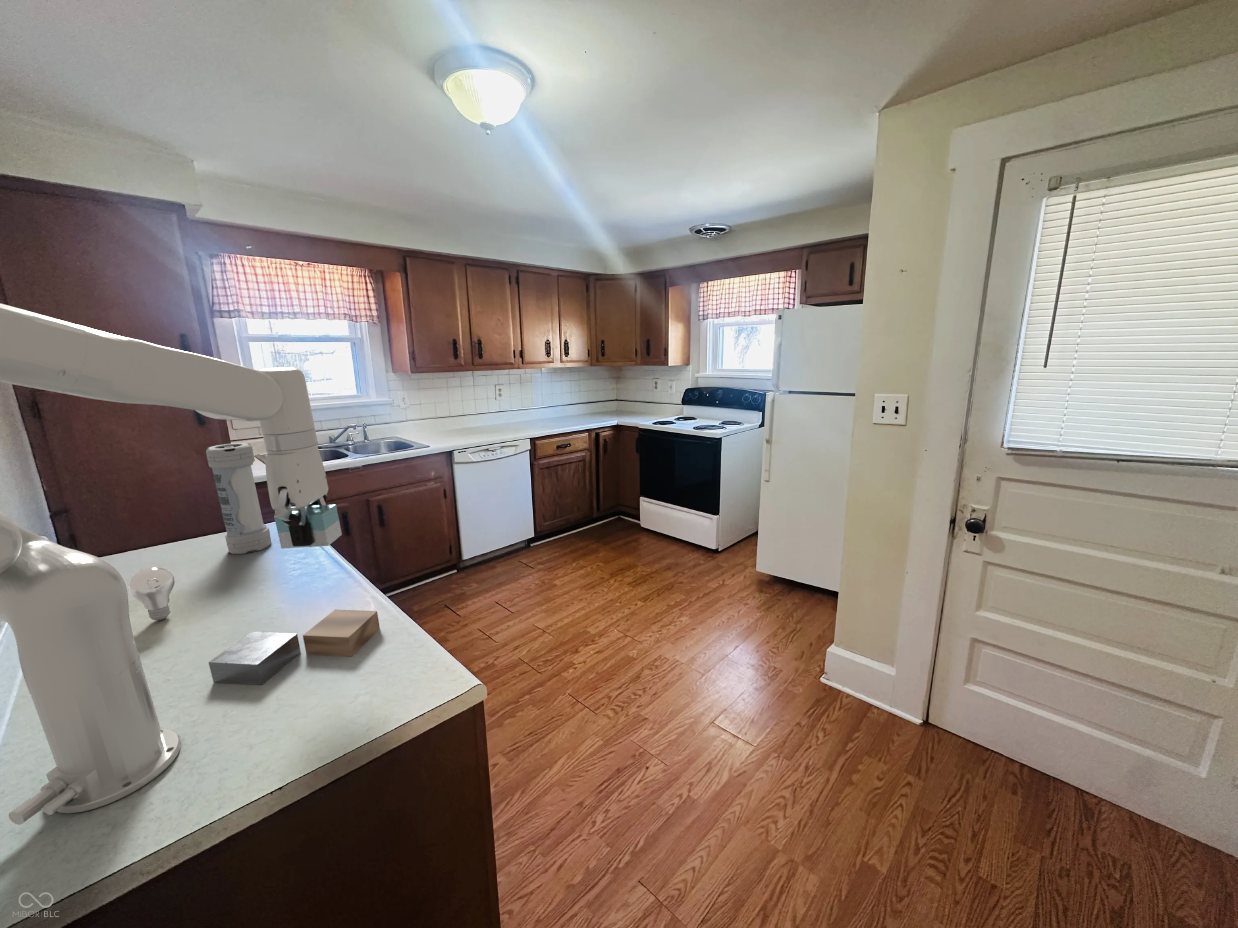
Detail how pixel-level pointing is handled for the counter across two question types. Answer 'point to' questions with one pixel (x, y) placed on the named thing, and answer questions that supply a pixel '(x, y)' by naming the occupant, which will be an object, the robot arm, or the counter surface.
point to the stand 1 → (255, 658)
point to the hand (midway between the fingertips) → (311, 537)
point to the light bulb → (153, 590)
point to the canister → (238, 497)
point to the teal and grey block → (314, 526)
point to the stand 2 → (341, 633)
